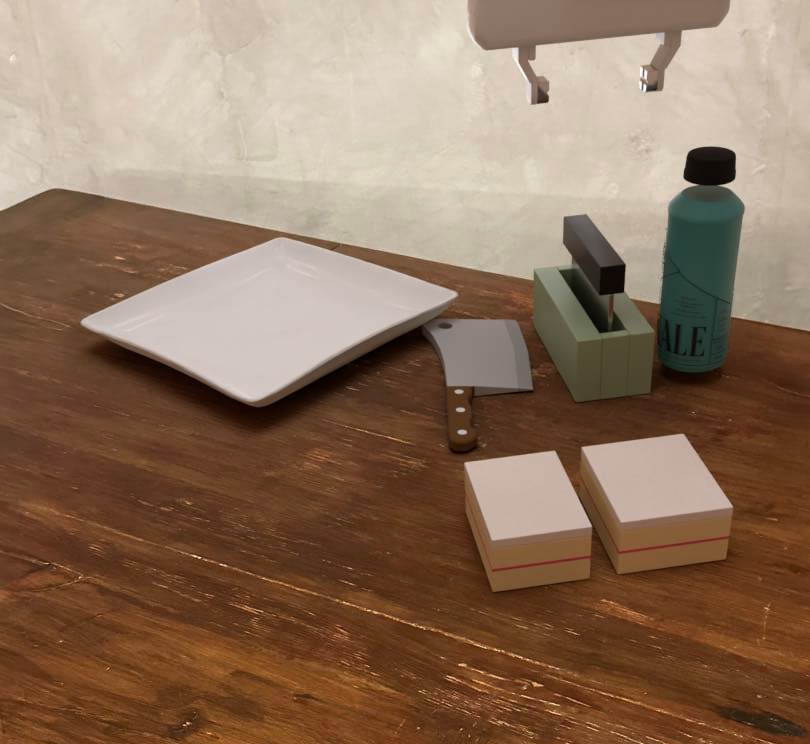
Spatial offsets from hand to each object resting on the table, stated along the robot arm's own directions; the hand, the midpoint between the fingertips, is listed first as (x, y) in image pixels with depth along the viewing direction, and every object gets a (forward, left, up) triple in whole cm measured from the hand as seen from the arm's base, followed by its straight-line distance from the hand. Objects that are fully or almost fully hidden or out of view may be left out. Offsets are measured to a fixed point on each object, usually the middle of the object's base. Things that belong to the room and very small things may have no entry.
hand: (594, 96), depth 91 cm
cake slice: (+12, +26, -24) cm, 38 cm away
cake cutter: (-1, -1, -24) cm, 24 cm away
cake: (+2, +26, -24) cm, 36 cm away
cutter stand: (-1, -1, -24) cm, 24 cm away
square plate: (+28, -13, -24) cm, 39 cm away
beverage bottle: (-9, +4, -24) cm, 26 cm away
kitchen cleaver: (+10, +1, -24) cm, 26 cm away
